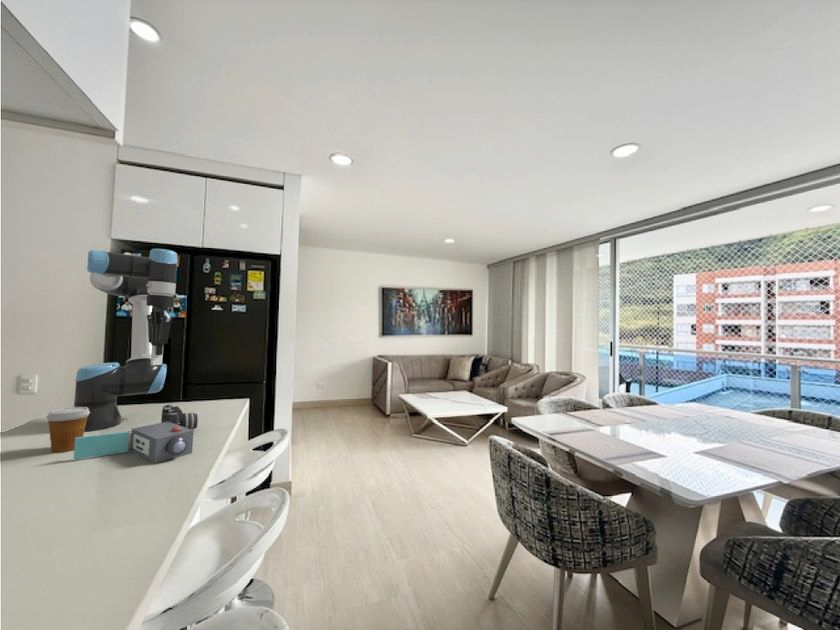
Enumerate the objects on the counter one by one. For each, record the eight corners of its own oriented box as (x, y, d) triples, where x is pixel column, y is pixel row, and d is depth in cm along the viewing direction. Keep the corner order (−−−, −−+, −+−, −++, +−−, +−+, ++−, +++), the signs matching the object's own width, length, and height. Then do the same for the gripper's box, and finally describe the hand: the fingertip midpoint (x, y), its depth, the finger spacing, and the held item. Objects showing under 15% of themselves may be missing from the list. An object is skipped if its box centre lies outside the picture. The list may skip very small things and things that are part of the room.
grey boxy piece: (129, 451, 105) (131, 426, 105) (166, 442, 114) (168, 419, 114) (158, 465, 96) (159, 438, 96) (196, 454, 105) (197, 429, 105)
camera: (200, 436, 122) (202, 408, 122) (163, 442, 114) (165, 412, 114) (192, 426, 132) (193, 400, 132) (157, 431, 124) (159, 404, 125)
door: (131, 449, 106) (132, 430, 106) (130, 451, 104) (132, 431, 104) (75, 457, 98) (76, 436, 98) (73, 459, 97) (75, 438, 97)
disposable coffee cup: (54, 456, 99) (58, 415, 99) (36, 451, 102) (39, 411, 102) (94, 446, 108) (97, 408, 108) (76, 441, 111) (79, 405, 111)
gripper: (139, 294, 114) (134, 363, 113) (157, 293, 108) (152, 367, 107) (164, 296, 121) (160, 362, 120) (183, 296, 114) (178, 365, 113)
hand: (156, 364), depth 113 cm, fingers closed
